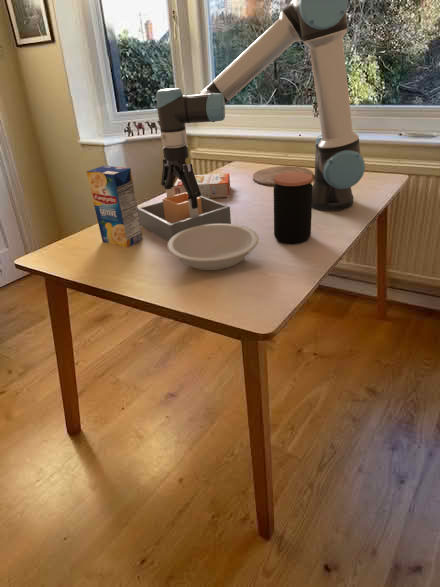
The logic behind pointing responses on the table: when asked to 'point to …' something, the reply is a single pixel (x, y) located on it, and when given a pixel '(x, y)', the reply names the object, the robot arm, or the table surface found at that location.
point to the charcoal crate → (156, 223)
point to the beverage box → (115, 205)
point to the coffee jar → (292, 207)
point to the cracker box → (208, 185)
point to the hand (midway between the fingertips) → (183, 212)
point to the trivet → (268, 174)
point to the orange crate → (178, 207)
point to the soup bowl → (213, 245)
